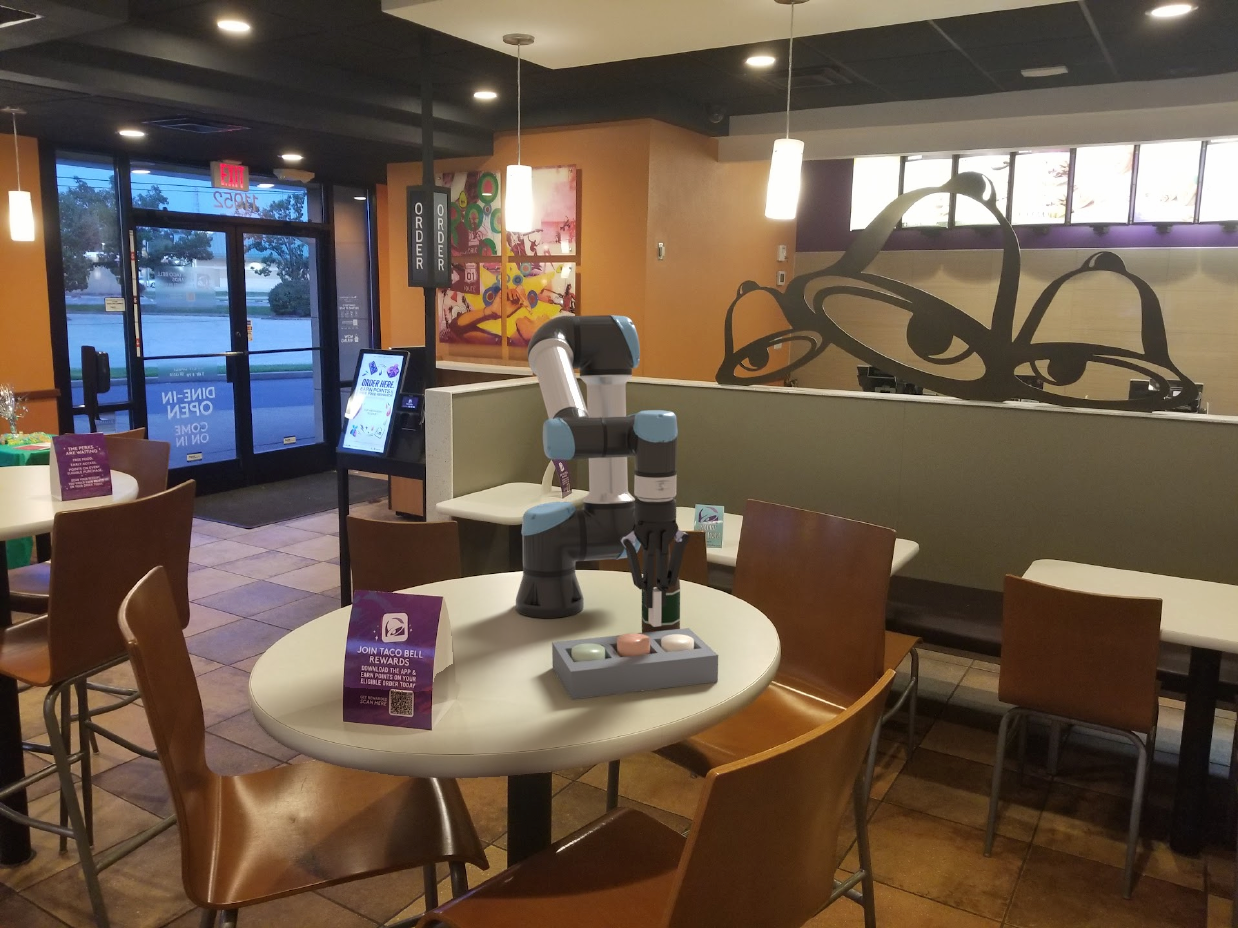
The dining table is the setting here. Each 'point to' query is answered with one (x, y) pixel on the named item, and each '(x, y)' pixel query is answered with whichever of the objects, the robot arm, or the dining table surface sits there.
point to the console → (633, 666)
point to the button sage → (587, 652)
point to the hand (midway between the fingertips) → (654, 623)
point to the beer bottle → (671, 609)
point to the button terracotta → (633, 645)
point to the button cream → (677, 643)
